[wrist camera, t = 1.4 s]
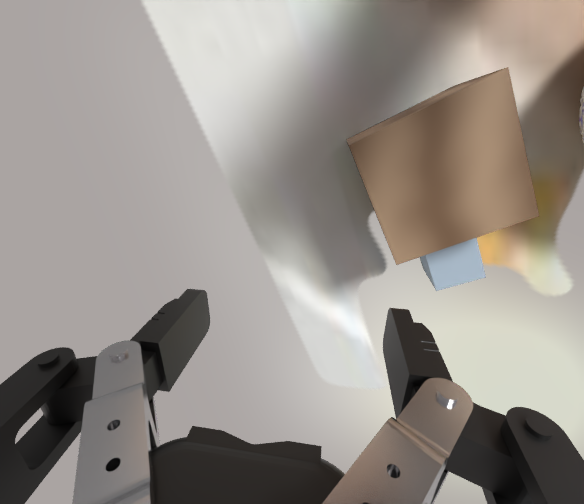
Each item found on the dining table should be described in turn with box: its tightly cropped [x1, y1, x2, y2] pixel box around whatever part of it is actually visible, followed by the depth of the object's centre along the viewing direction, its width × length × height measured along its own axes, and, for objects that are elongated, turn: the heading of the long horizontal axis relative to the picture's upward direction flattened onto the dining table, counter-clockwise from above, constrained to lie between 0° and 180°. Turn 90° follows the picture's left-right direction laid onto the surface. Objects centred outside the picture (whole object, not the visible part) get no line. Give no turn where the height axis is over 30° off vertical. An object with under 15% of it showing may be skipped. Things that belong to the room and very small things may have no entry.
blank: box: [420, 238, 486, 291], centre depth 28 cm, size 4×14×5 cm, turn 24°
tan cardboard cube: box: [347, 67, 539, 265], centre depth 24 cm, size 10×10×9 cm
